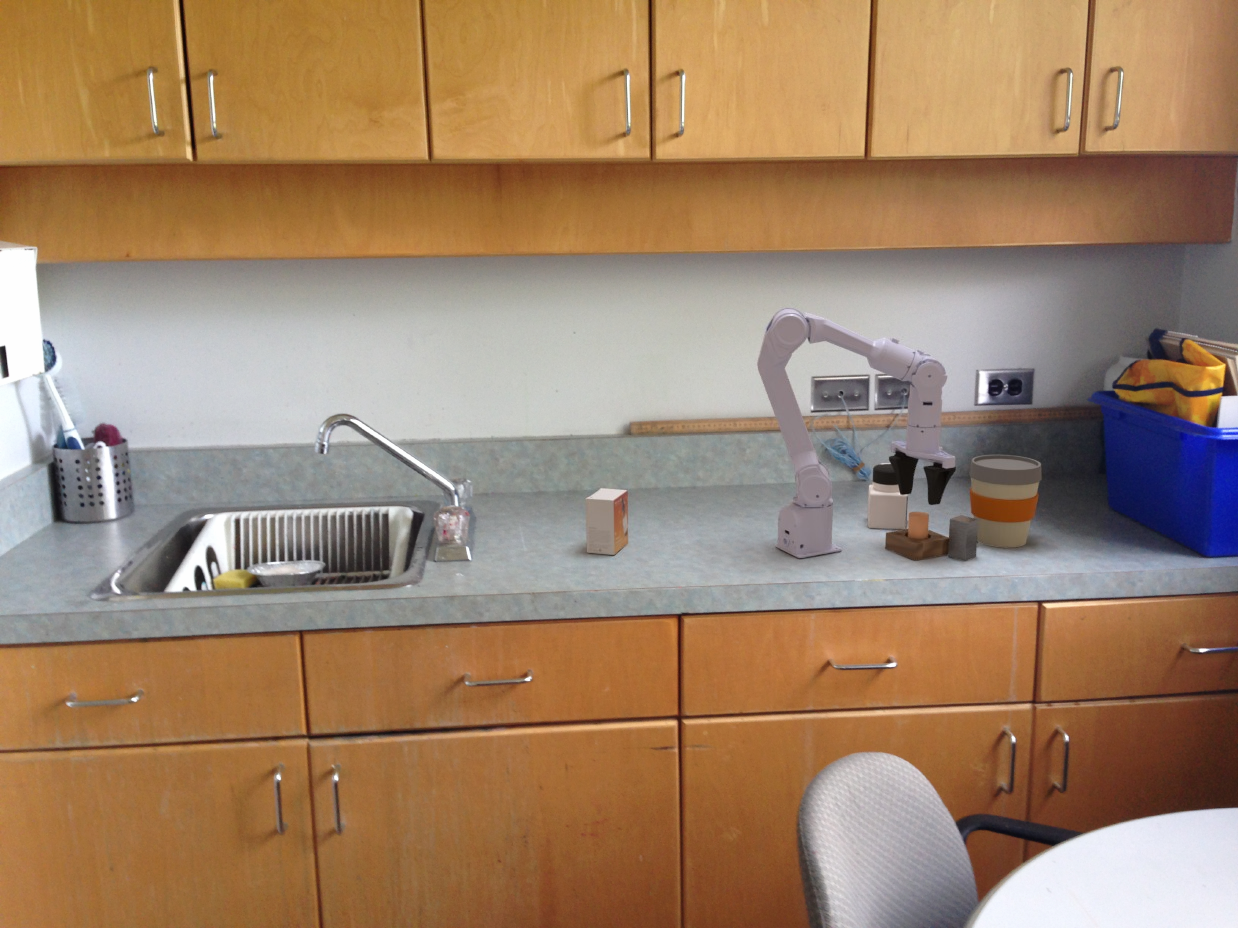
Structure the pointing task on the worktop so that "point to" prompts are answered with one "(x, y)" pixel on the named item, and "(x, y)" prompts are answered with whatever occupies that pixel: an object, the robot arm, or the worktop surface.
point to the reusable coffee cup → (1004, 498)
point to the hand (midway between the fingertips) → (919, 498)
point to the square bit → (963, 537)
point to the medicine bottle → (886, 500)
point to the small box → (607, 521)
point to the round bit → (918, 525)
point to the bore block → (917, 545)
